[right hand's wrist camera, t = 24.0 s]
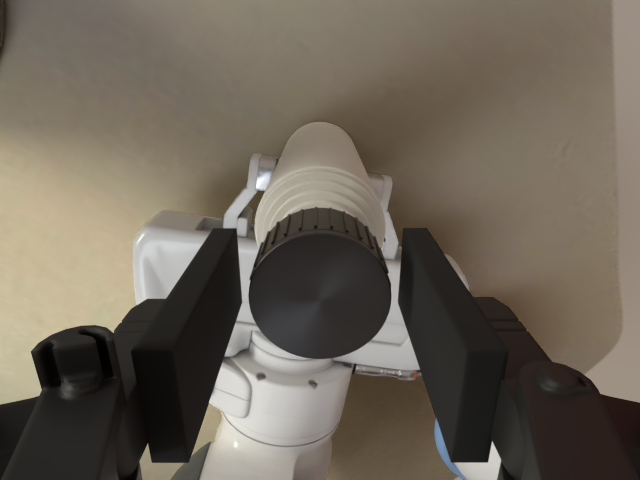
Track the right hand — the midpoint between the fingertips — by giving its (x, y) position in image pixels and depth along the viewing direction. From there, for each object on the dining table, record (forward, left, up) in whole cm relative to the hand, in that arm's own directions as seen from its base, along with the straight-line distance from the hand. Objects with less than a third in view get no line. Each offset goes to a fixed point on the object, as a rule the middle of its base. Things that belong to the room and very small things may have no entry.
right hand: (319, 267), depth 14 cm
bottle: (0, 0, -18) cm, 18 cm away
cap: (0, 0, +2) cm, 2 cm away
